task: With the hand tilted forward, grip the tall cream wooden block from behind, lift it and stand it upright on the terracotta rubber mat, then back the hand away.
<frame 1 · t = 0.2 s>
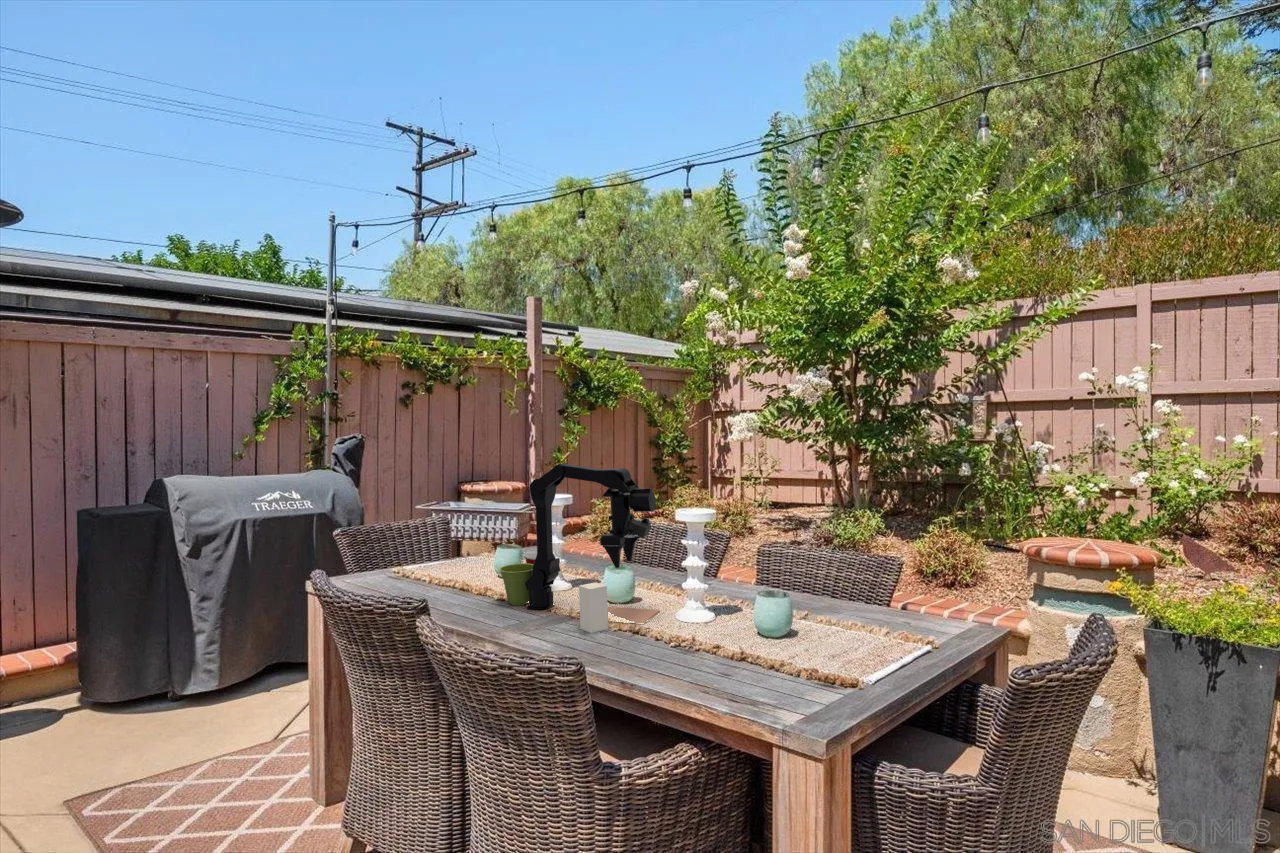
hand: (623, 564, 232), 15 cm above the table, tool pointing down, fingers open, 9 cm apart
cream block: (594, 628, 218), on the table
plastic cup: (541, 590, 265), on the table
plant pot: (519, 603, 248), on the table
terracotta mat: (625, 616, 230), on the table
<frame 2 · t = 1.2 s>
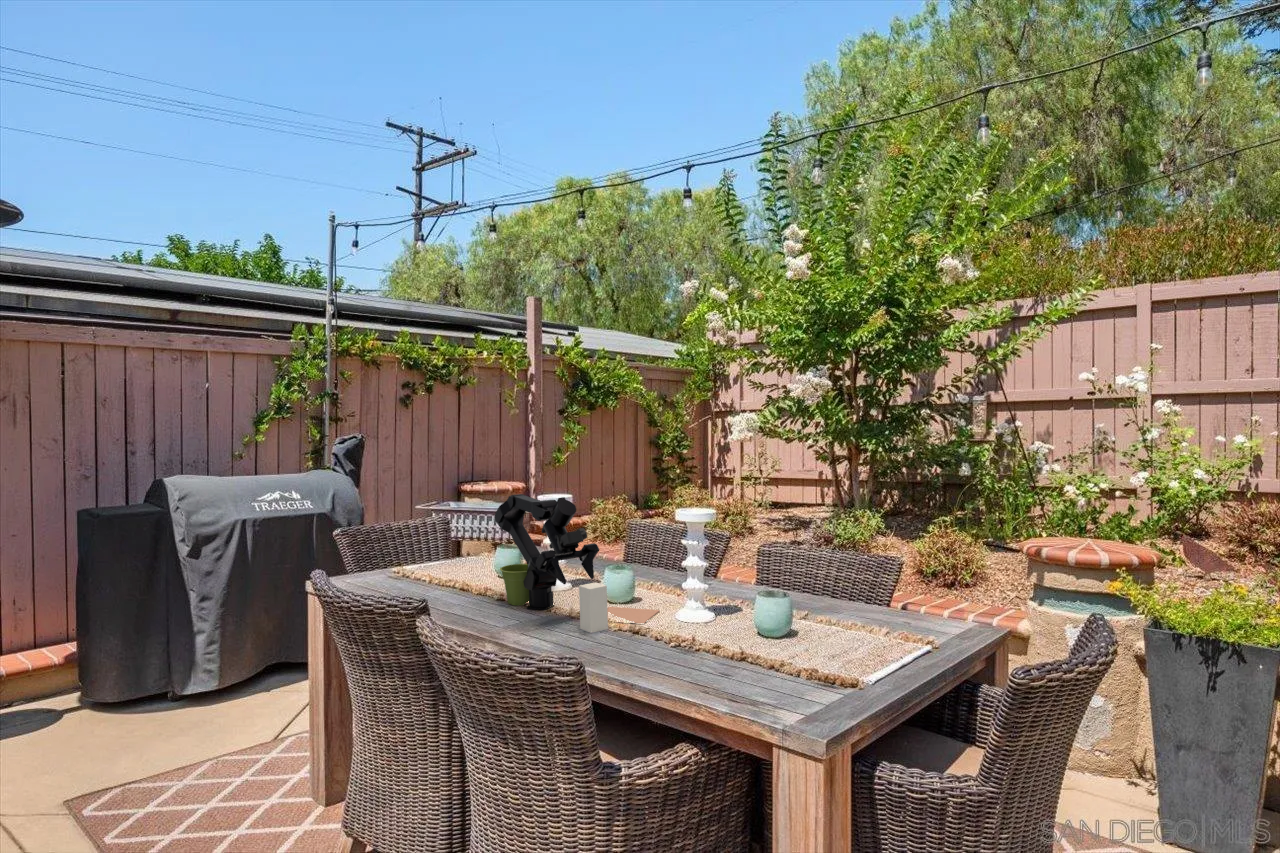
hand: (579, 580, 224), 12 cm above the table, tool tilted 45°, fingers open, 9 cm apart
plant pot: (519, 603, 248), on the table, touching arm
everything else where it was.
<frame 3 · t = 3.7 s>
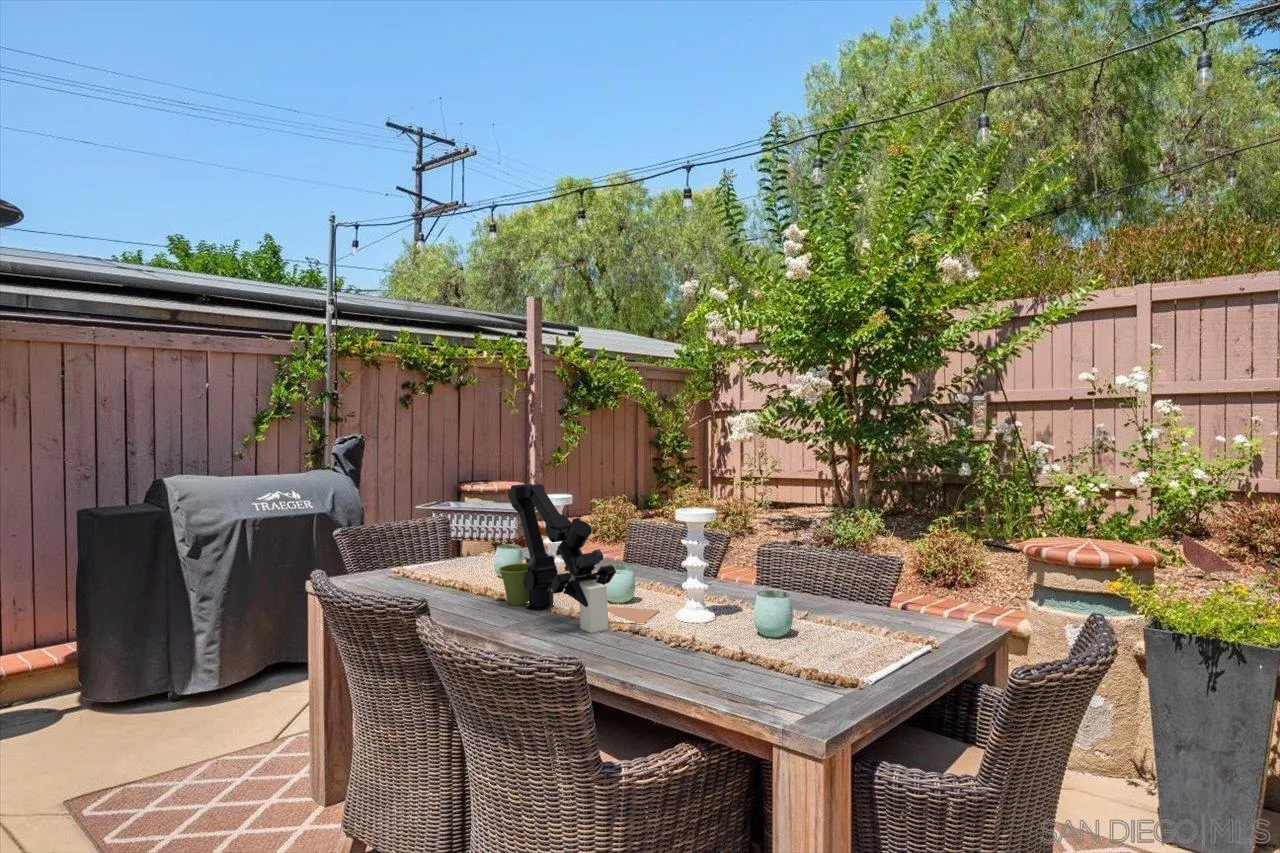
hand: (596, 604, 216), 7 cm above the table, tool tilted 45°, fingers closed on cream block, 5 cm apart
cream block: (594, 628, 218), on the table, touching gripper
plant pot: (519, 603, 248), on the table
everything else where it was.
when the fingers open (8 cm above the table, at t = 7.4 s): cream block stays where it is, resting on terracotta mat.
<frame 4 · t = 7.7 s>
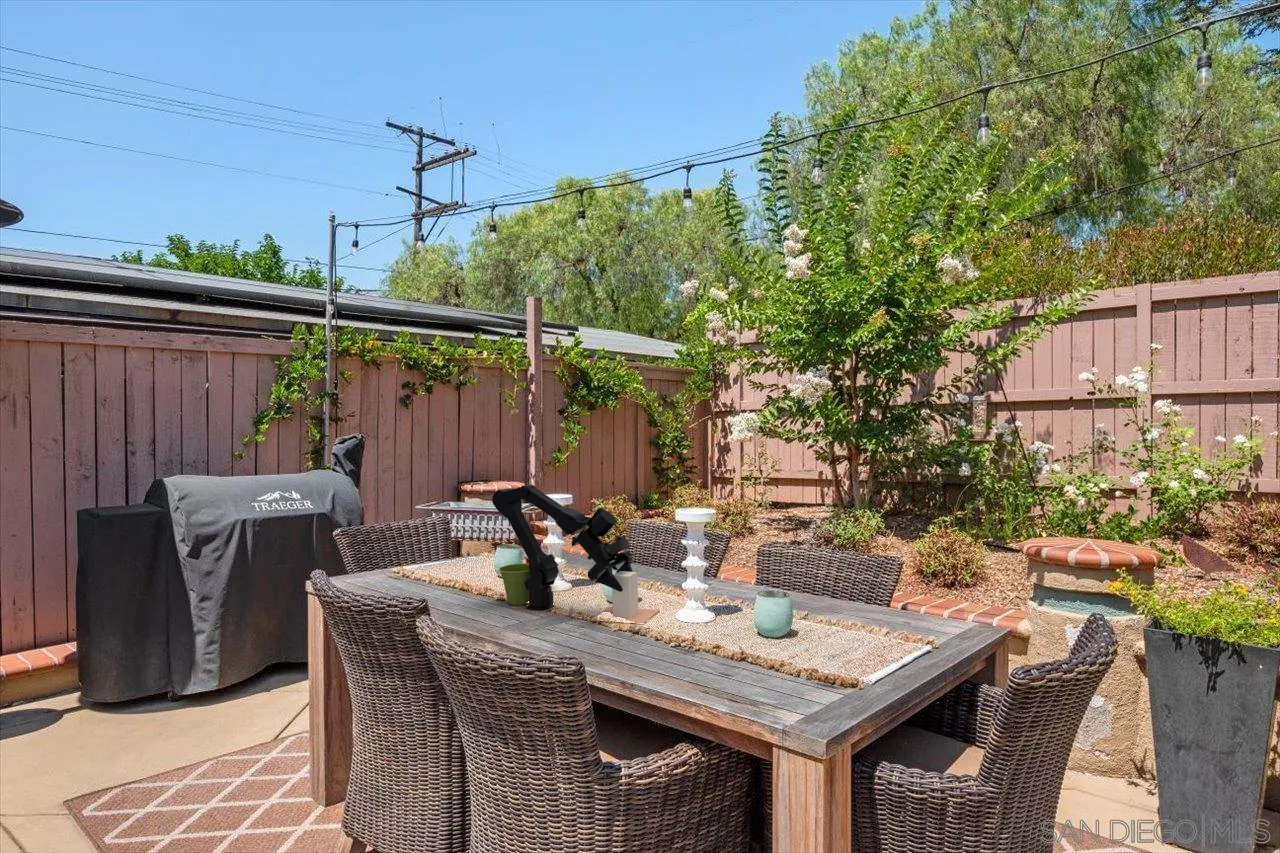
hand: (629, 587, 229), 9 cm above the table, tool tilted 45°, fingers open, 9 cm apart
cream block: (625, 614, 230), resting on terracotta mat
everything else where it was.
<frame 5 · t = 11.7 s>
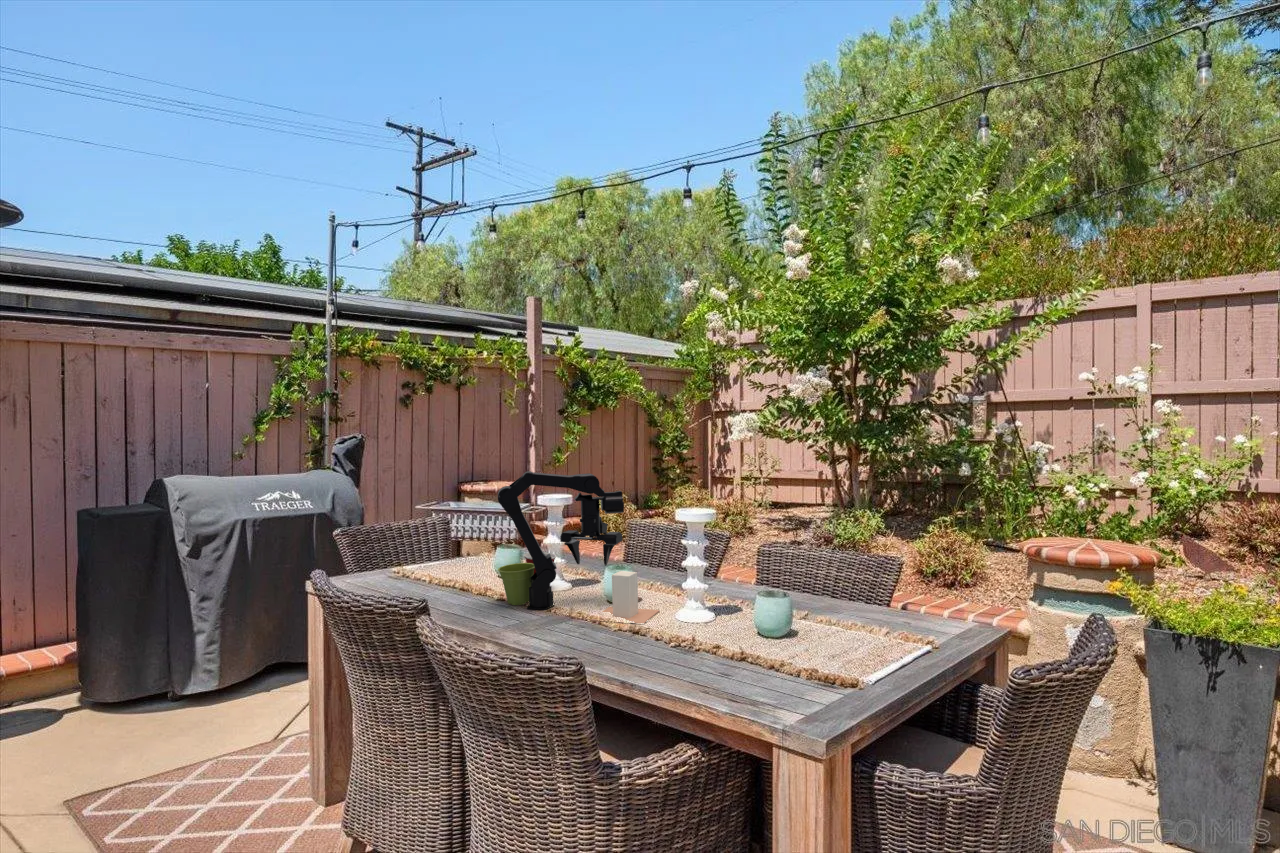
hand: (592, 564, 245), 12 cm above the table, tool pointing down, fingers open, 9 cm apart
plant pot: (519, 603, 248), on the table, touching arm
everything else where it was.
at the end: cream block 0.0 cm from the terracotta mat (horizontally); cream block tilted 0°; cream block touching terracotta mat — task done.
